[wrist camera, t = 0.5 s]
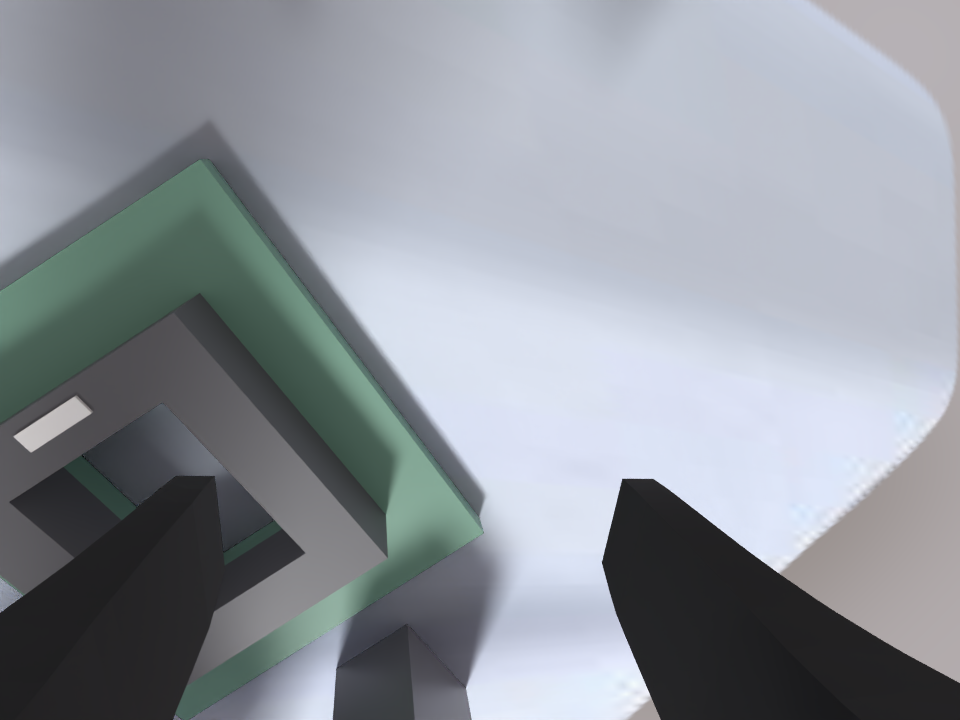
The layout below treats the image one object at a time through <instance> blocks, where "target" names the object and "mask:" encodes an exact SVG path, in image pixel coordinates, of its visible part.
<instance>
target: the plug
mask: <svg viewBox="0 0 960 720" xmlns="http://www.w3.org/2000/svg"><path fill="white" fill-rule="evenodd" d="M333 720H472V719H471V714H470V708H469V703H468V697H467V692H466V688H465V687H464V686H463V685H462V684H461V682H460V681H459V680H458V679H457V678H456V677H455V676H454V675H453V674H452V673H451V672H450V670H449V669H448V668H447V667H446V666H445V665H444V664H443V663H442V662H441V661H440V659H439V658H438V657H437V656H436V655H435V654H434V653H433V652H432V651H431V650H430V649H429V647H428V646H427V645H426V644H425V643H424V642H423V641H422V640H421V639H420V638H419V636H418V635H417V634H416V633H415V632H414V631H413V630H412V629H411V628H410V627H409V626H408V624H407V625H405V626H404V627H402V628H400V629H399V630H397V631H396V632H394V633H392V634H391V635H389V636H388V637H386V638H385V639H383V640H381V641H380V642H378V643H377V644H375V645H373V646H372V647H370V648H369V649H367V650H365V651H364V652H362V653H361V654H359V655H358V656H356V657H354V658H353V659H351V660H350V661H348V662H346V663H345V664H343V665H342V666H340V667H338V668H337V669H336V682H335V697H334V711H333Z"/></svg>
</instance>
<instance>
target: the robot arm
mask: <svg viewBox="0 0 960 720" xmlns="http://www.w3.org/2000/svg"><path fill="white" fill-rule="evenodd" d="M602 564H603V568H604V572H605V576H606V580H607V583H608V587H609V591H610V594H611V598H612V601H613V604H614V608H615V611H616V614H617V617H618V619H619V622H620V624H621V627H622V629H623V632H624V634H625V636H626V639H627V641H628V644H629V646H630V648H631V651H632V653H633V656H634V658H635V660H636V663H637V665H638V667H639V670H640V672H641V674H642V677H643V679H644V681H645V684H646V686H647V688H648V691H649V693H650V695H651V698H652V700H653V702H654V705H655V707H656V709H657V712H658V714H659V716H660V719H661V720H960V683H958V682H957V681H955V680H953V679H951V678H949V677H947V676H945V675H944V674H942V673H940V672H938V671H936V670H934V669H932V668H931V667H929V666H927V665H925V664H923V663H921V662H919V661H917V660H916V659H914V658H912V657H910V656H908V655H907V654H905V653H903V652H901V651H900V650H898V649H896V648H894V647H893V646H891V645H889V644H887V643H886V642H884V641H882V640H881V639H879V638H877V637H876V636H874V635H872V634H871V633H869V632H867V631H866V630H864V629H862V628H861V627H859V626H858V625H856V624H854V623H853V622H851V621H850V620H848V619H846V618H844V617H843V616H841V615H840V614H838V613H836V612H835V611H833V610H832V609H830V608H829V607H827V606H826V605H824V604H823V603H821V602H820V601H818V600H816V599H815V598H813V597H812V596H811V595H809V594H808V593H806V592H805V591H803V590H802V589H800V588H799V587H798V586H796V585H795V584H793V583H792V582H790V581H789V580H787V579H786V578H785V577H783V576H782V575H780V574H779V573H777V572H776V571H775V570H773V569H772V568H770V567H769V566H768V565H766V564H765V563H764V562H762V561H761V560H760V559H758V558H757V557H755V556H754V555H753V554H751V553H750V552H749V551H747V550H746V549H745V548H743V547H742V546H741V545H739V544H738V543H737V542H736V541H734V540H733V539H732V538H730V537H729V536H728V535H726V534H725V533H724V532H723V531H721V530H720V529H719V528H717V527H716V526H715V525H714V524H712V523H711V522H710V521H708V520H707V519H706V518H705V517H703V516H702V515H701V514H699V513H698V512H697V511H696V510H694V509H693V508H692V507H690V506H689V505H688V504H687V503H685V502H684V501H683V500H681V499H680V498H679V497H678V496H676V495H675V494H674V493H672V492H671V491H670V490H668V489H667V488H665V487H664V486H663V485H661V484H660V483H658V482H657V481H655V480H654V479H622V483H621V487H620V491H619V495H618V499H617V503H616V507H615V511H614V515H613V520H612V524H611V528H610V532H609V536H608V540H607V544H606V548H605V552H604V556H603V561H602ZM224 572H225V563H224V554H223V545H222V537H221V528H220V519H219V510H218V501H217V492H216V483H215V476H176V477H174V478H173V479H172V480H170V481H169V482H168V483H167V484H165V485H164V486H163V487H162V488H160V489H159V490H158V491H157V492H155V493H154V494H153V495H152V496H151V497H149V498H148V499H147V500H146V501H145V502H143V503H142V504H141V505H140V506H138V507H137V508H136V509H135V510H134V511H132V512H131V513H130V514H129V515H128V516H126V517H125V518H124V519H123V520H121V521H120V522H119V523H118V524H117V525H115V526H114V527H113V528H112V529H110V530H109V531H108V532H107V533H105V534H104V535H103V536H102V537H100V538H99V539H98V540H97V541H95V542H94V543H93V544H92V545H90V546H89V547H88V548H87V549H85V550H84V551H83V552H82V553H80V554H79V555H78V556H77V557H75V558H74V559H73V560H71V561H70V562H69V563H67V564H66V565H65V566H63V567H62V568H61V569H59V570H58V571H57V572H55V573H54V574H53V575H51V576H50V577H48V578H47V579H46V580H44V581H43V582H42V583H40V584H39V585H38V586H36V587H35V588H33V589H32V590H31V591H29V592H28V593H27V594H25V595H24V596H23V597H21V598H20V599H18V600H17V601H16V602H14V603H13V604H12V605H10V606H9V607H8V608H6V609H5V610H4V611H2V612H1V613H0V720H173V718H174V715H175V713H176V710H177V708H178V705H179V703H180V700H181V698H182V696H183V693H184V691H185V688H186V686H187V683H188V681H189V678H190V676H191V673H192V671H193V668H194V666H195V663H196V661H197V658H198V656H199V653H200V651H201V648H202V646H203V643H204V641H205V638H206V635H207V633H208V630H209V628H210V624H211V620H212V617H213V613H214V610H215V606H216V603H217V599H218V595H219V591H220V587H221V583H222V580H223V576H224Z"/></svg>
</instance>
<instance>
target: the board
mask: <svg viewBox="0 0 960 720" xmlns="http://www.w3.org/2000/svg"><path fill="white" fill-rule="evenodd" d="M162 402H163V403H164V404H165V405H166V406H167V407H168V408H169V409H170V411H171V412H172V413H173V414H174V415H175V416H176V417H177V418H178V419H179V420H180V421H181V422H182V423H183V424H184V425H185V426H186V427H187V428H188V429H189V431H190V432H191V433H192V434H193V435H194V436H195V437H196V438H197V439H198V440H199V441H200V442H201V443H202V444H203V445H204V446H205V447H206V448H207V450H208V451H209V452H210V453H211V454H212V455H213V456H214V457H215V458H216V459H217V460H218V461H219V462H220V463H221V464H222V465H223V466H224V467H225V468H226V470H227V471H228V472H229V473H230V474H231V475H232V476H233V477H234V478H235V479H236V480H237V481H238V482H239V483H240V484H241V485H242V486H243V487H244V488H245V490H246V491H247V492H248V493H249V494H250V495H251V496H252V497H253V498H254V499H255V500H256V501H257V502H258V503H259V504H260V505H261V506H262V507H263V509H264V510H265V511H266V512H267V513H268V514H269V515H270V516H271V517H272V518H273V519H274V521H273V522H271V523H270V524H268V525H266V526H265V527H263V528H262V529H260V530H259V531H257V532H256V533H254V534H252V535H251V536H249V537H248V538H246V539H245V540H243V541H241V542H240V543H238V544H237V545H235V546H234V547H232V548H231V549H229V550H227V551H226V552H224V553H223V554H224V563H225V572H224V576H223V580H222V583H221V587H220V591H219V595H218V599H217V603H216V606H215V610H214V613H213V617H212V620H211V624H210V628H209V630H208V633H207V635H206V638H205V641H204V643H203V646H202V648H201V651H200V653H199V656H198V658H197V661H196V663H195V666H194V668H193V671H192V673H191V676H190V678H189V681H188V683H187V686H186V688H185V691H184V693H183V696H182V698H181V700H180V703H179V705H178V708H177V710H176V713H175V714H176V715H177V716H178V717H179V718H181V719H182V720H189V719H191V718H192V717H194V716H195V715H197V714H198V713H200V712H202V711H203V710H205V709H206V708H208V707H210V706H211V705H213V704H214V703H216V702H217V701H219V700H221V699H222V698H224V697H225V696H227V695H228V694H230V693H232V692H233V691H235V690H236V689H238V688H240V687H241V686H243V685H244V684H246V683H247V682H249V681H251V680H252V679H254V678H255V677H257V676H259V675H260V674H262V673H263V672H265V671H266V670H268V669H270V668H271V667H273V666H274V665H276V664H278V663H279V662H281V661H282V660H284V659H285V658H287V657H289V656H290V655H292V654H293V653H295V652H296V651H298V650H300V649H301V648H303V647H304V646H306V645H308V644H309V643H311V642H312V641H314V640H315V639H317V638H319V637H320V636H322V635H323V634H325V633H327V632H328V631H330V630H331V629H333V628H334V627H336V626H338V625H339V624H341V623H342V622H344V621H346V620H347V619H349V618H350V617H352V616H353V615H355V614H357V613H358V612H360V611H361V610H363V609H364V608H366V607H368V606H369V605H371V604H372V603H374V602H376V601H377V600H379V599H380V598H382V597H383V596H385V595H387V594H388V593H390V592H391V591H393V590H395V589H396V588H398V587H399V586H401V585H402V584H404V583H406V582H407V581H409V580H410V579H412V578H414V577H415V576H417V575H418V574H420V573H421V572H423V571H425V570H426V569H428V568H429V567H431V566H433V565H434V564H436V563H437V562H439V561H440V560H442V559H444V558H445V557H447V556H448V555H450V554H451V553H453V552H455V551H456V550H458V549H459V548H461V547H463V546H464V545H466V544H467V543H469V542H470V541H472V540H474V539H475V538H477V537H478V536H480V535H482V534H483V533H484V532H483V528H482V525H481V522H480V519H479V517H478V516H477V514H476V513H475V512H474V510H473V509H472V508H471V506H470V505H469V504H468V502H467V501H466V500H465V498H464V497H463V496H462V494H461V493H460V492H459V490H458V489H457V488H456V486H455V485H454V484H453V482H452V481H451V480H450V478H449V477H448V476H447V475H446V473H445V472H444V471H443V469H442V468H441V467H440V465H439V464H438V463H437V461H436V460H435V459H434V457H433V456H432V455H431V453H430V452H429V451H428V449H427V448H426V447H425V445H424V444H423V443H422V441H421V440H420V439H419V437H418V436H417V435H416V433H415V432H414V431H413V429H412V428H411V427H410V425H409V424H408V423H407V421H406V420H405V419H404V417H403V416H402V415H401V413H400V412H399V411H398V409H397V408H396V407H395V405H394V404H393V403H392V401H391V400H390V399H389V397H388V396H387V395H386V393H385V392H384V391H383V390H382V388H381V387H380V386H379V384H378V383H377V382H376V380H375V379H374V378H373V376H372V375H371V374H370V372H369V371H368V370H367V368H366V367H365V366H364V364H363V363H362V362H361V360H360V359H359V358H358V356H357V355H356V354H355V352H354V351H353V350H352V348H351V347H350V346H349V344H348V343H347V342H346V340H345V339H344V338H343V336H342V335H341V334H340V332H339V331H338V330H337V328H336V327H335V326H334V324H333V323H332V322H331V320H330V319H329V318H328V316H327V315H326V314H325V312H324V311H323V310H322V308H321V307H320V306H319V305H318V303H317V302H316V301H315V299H314V298H313V297H312V295H311V294H310V293H309V291H308V290H307V289H306V287H305V286H304V285H303V283H302V282H301V281H300V279H299V278H298V277H297V275H296V274H295V273H294V271H293V270H292V269H291V267H290V266H289V265H288V263H287V262H286V261H285V259H284V258H283V257H282V255H281V254H280V253H279V251H278V250H277V249H276V247H275V246H274V245H273V243H272V242H271V241H270V239H269V238H268V237H267V235H266V234H265V233H264V231H263V230H262V229H261V227H260V226H259V225H258V223H257V222H256V221H255V220H254V218H253V217H252V216H251V214H250V213H249V212H248V210H247V209H246V208H245V206H244V205H243V204H242V202H241V201H240V200H239V198H238V197H237V196H236V194H235V193H234V192H233V190H232V189H231V188H230V186H229V185H228V184H227V182H226V181H225V180H224V178H223V177H222V176H221V174H220V173H219V172H218V170H217V169H216V168H215V166H214V165H213V164H212V162H211V161H210V160H209V159H200V160H198V161H197V162H195V163H194V164H192V165H191V166H189V167H188V168H186V169H185V170H183V171H182V172H180V173H178V174H177V175H175V176H174V177H172V178H171V179H169V180H168V181H166V182H165V183H163V184H162V185H160V186H159V187H157V188H156V189H154V190H153V191H151V192H150V193H148V194H147V195H145V196H144V197H142V198H141V199H139V200H138V201H136V202H135V203H133V204H132V205H130V206H128V207H127V208H125V209H124V210H122V211H121V212H119V213H118V214H116V215H115V216H113V217H112V218H110V219H109V220H107V221H106V222H104V223H103V224H101V225H100V226H98V227H97V228H95V229H94V230H92V231H91V232H89V233H88V234H86V235H85V236H83V237H82V238H80V239H78V240H77V241H75V242H74V243H72V244H71V245H69V246H68V247H66V248H65V249H63V250H62V251H60V252H59V253H57V254H56V255H54V256H53V257H51V258H50V259H48V260H47V261H45V262H44V263H42V264H41V265H39V266H38V267H36V268H35V269H33V270H32V271H30V272H28V273H27V274H25V275H24V276H22V277H21V278H19V279H18V280H16V281H15V282H13V283H12V284H10V285H9V286H7V287H6V288H4V289H3V290H1V291H0V578H2V579H3V580H4V581H5V582H7V583H8V584H9V585H10V586H12V587H13V588H14V589H16V590H17V591H18V592H19V593H21V594H22V595H23V596H24V595H25V594H27V593H28V592H29V591H31V590H32V589H33V588H35V587H36V586H38V585H39V584H40V583H42V582H43V581H44V580H46V579H47V578H48V577H50V576H51V575H53V574H54V573H55V572H57V571H58V570H59V569H61V568H62V567H63V566H65V565H66V564H67V563H69V562H70V561H71V560H73V559H74V558H75V557H77V556H78V555H79V554H80V553H82V552H83V551H84V550H85V549H87V548H88V547H89V546H90V545H92V544H93V543H94V542H95V541H97V540H98V539H99V538H100V537H102V536H103V535H104V534H105V533H107V532H108V531H109V530H110V529H112V528H113V527H114V526H115V525H117V524H118V523H119V522H120V521H121V520H123V519H124V518H125V517H126V516H128V515H129V514H130V513H131V512H132V511H134V510H135V509H136V508H137V507H136V506H135V505H134V504H133V503H132V502H130V501H129V500H128V499H127V498H126V497H125V496H124V495H123V494H122V493H121V492H120V491H119V490H118V489H117V488H116V487H114V486H113V485H112V484H111V483H110V482H109V481H108V480H107V479H106V478H105V477H104V476H103V475H102V474H101V473H100V472H98V471H97V470H96V469H95V468H94V467H93V466H92V465H91V464H90V463H89V462H88V461H87V460H86V459H85V458H84V457H82V456H81V455H82V454H84V453H85V452H87V451H88V450H90V449H92V448H93V447H95V446H96V445H98V444H99V443H101V442H102V441H104V440H105V439H107V438H108V437H110V436H112V435H113V434H115V433H116V432H118V431H119V430H121V429H122V428H124V427H125V426H127V425H129V424H130V423H132V422H133V421H135V420H136V419H138V418H139V417H141V416H142V415H144V414H145V413H147V412H149V411H150V410H152V409H153V408H155V407H156V406H158V405H159V404H161V403H162Z"/></svg>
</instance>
